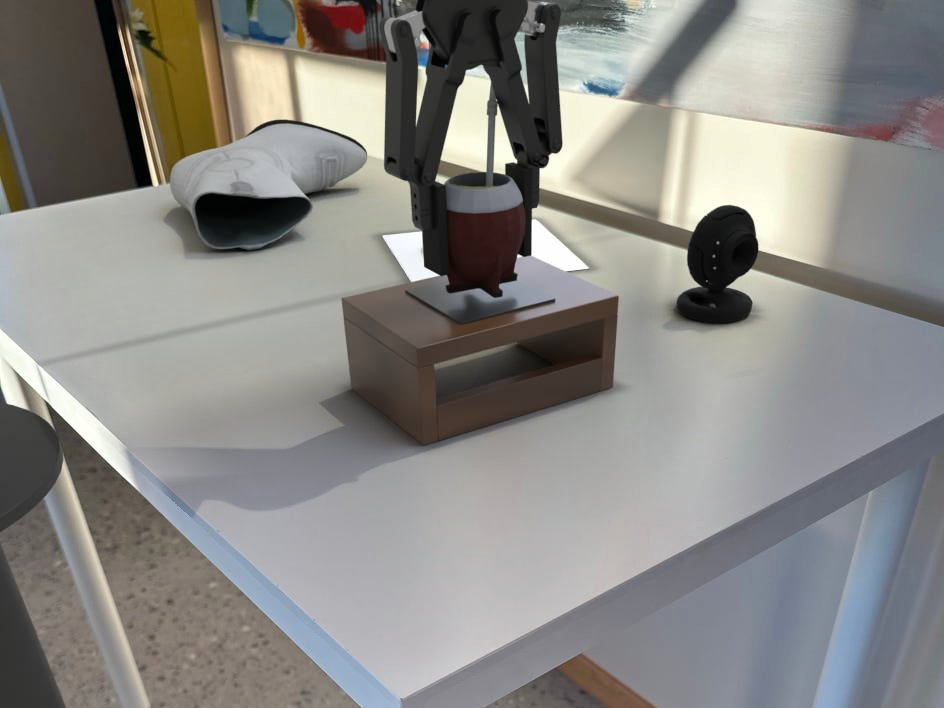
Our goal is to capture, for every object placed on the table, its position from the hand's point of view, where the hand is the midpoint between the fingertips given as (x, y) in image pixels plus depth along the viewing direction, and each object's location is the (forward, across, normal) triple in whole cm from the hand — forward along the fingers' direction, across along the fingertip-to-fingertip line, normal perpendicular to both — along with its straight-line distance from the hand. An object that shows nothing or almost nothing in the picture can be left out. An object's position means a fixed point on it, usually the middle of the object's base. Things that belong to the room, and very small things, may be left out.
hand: (478, 260), depth 78 cm
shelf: (+11, 0, 0) cm, 11 cm away
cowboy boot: (+11, +7, +59) cm, 60 cm away
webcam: (+11, +29, +2) cm, 31 cm away
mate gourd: (+2, 0, 0) cm, 2 cm away
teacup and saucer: (+11, +20, +32) cm, 39 cm away
